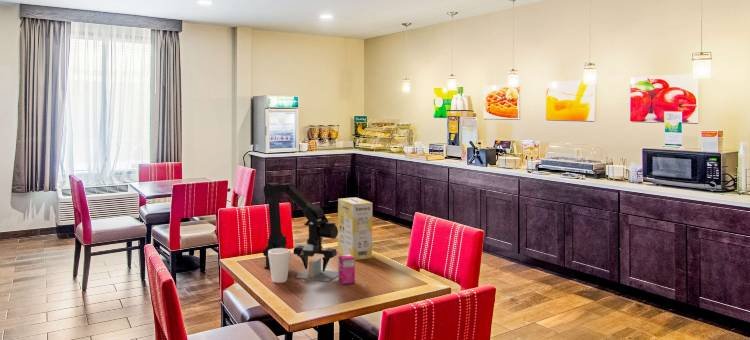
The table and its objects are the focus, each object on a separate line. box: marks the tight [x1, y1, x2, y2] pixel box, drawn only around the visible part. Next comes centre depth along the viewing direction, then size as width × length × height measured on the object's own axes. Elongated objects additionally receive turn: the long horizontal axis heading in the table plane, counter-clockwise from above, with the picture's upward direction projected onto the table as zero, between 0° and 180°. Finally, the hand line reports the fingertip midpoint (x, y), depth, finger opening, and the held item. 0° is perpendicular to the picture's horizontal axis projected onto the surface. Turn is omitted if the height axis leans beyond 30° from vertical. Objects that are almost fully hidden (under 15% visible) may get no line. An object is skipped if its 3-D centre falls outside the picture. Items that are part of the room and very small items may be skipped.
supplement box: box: [337, 254, 356, 286], centre depth 229 cm, size 6×6×12 cm
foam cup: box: [268, 248, 292, 284], centre depth 230 cm, size 10×9×13 cm
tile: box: [308, 257, 322, 277], centre depth 239 cm, size 2×8×6 cm, turn 162°
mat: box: [295, 268, 338, 283], centre depth 238 cm, size 16×14×1 cm
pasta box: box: [337, 196, 373, 261], centre depth 273 cm, size 18×10×28 cm, turn 28°
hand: (315, 270), depth 239 cm, fingers open, 8 cm apart
